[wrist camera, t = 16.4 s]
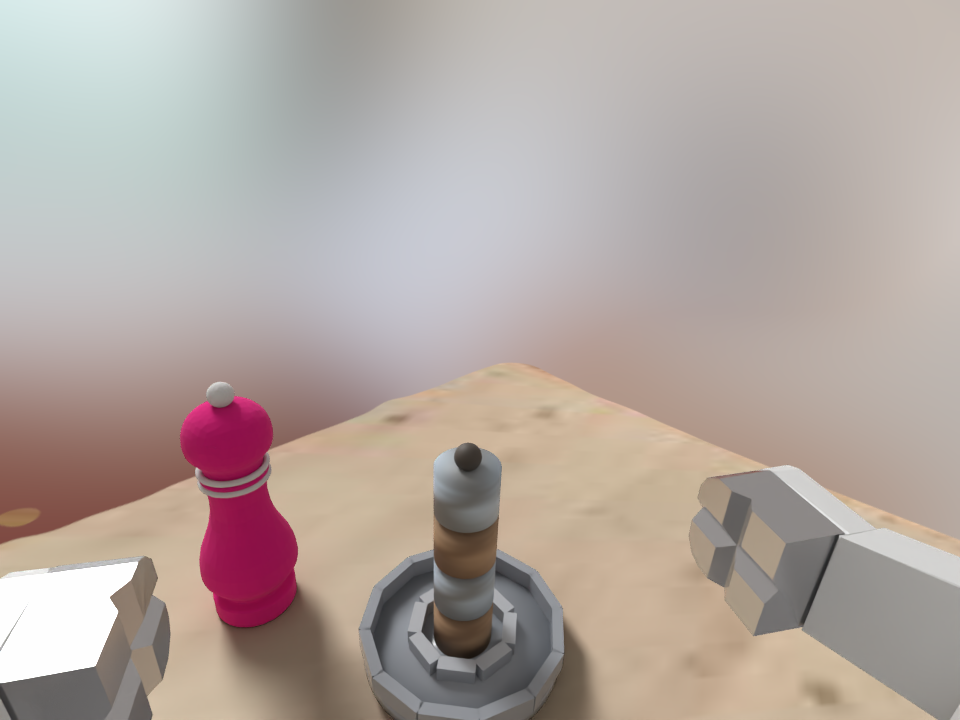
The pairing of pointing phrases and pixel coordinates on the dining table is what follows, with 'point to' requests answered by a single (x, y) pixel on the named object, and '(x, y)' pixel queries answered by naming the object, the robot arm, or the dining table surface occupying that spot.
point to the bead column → (465, 548)
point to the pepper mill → (240, 509)
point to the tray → (458, 681)
